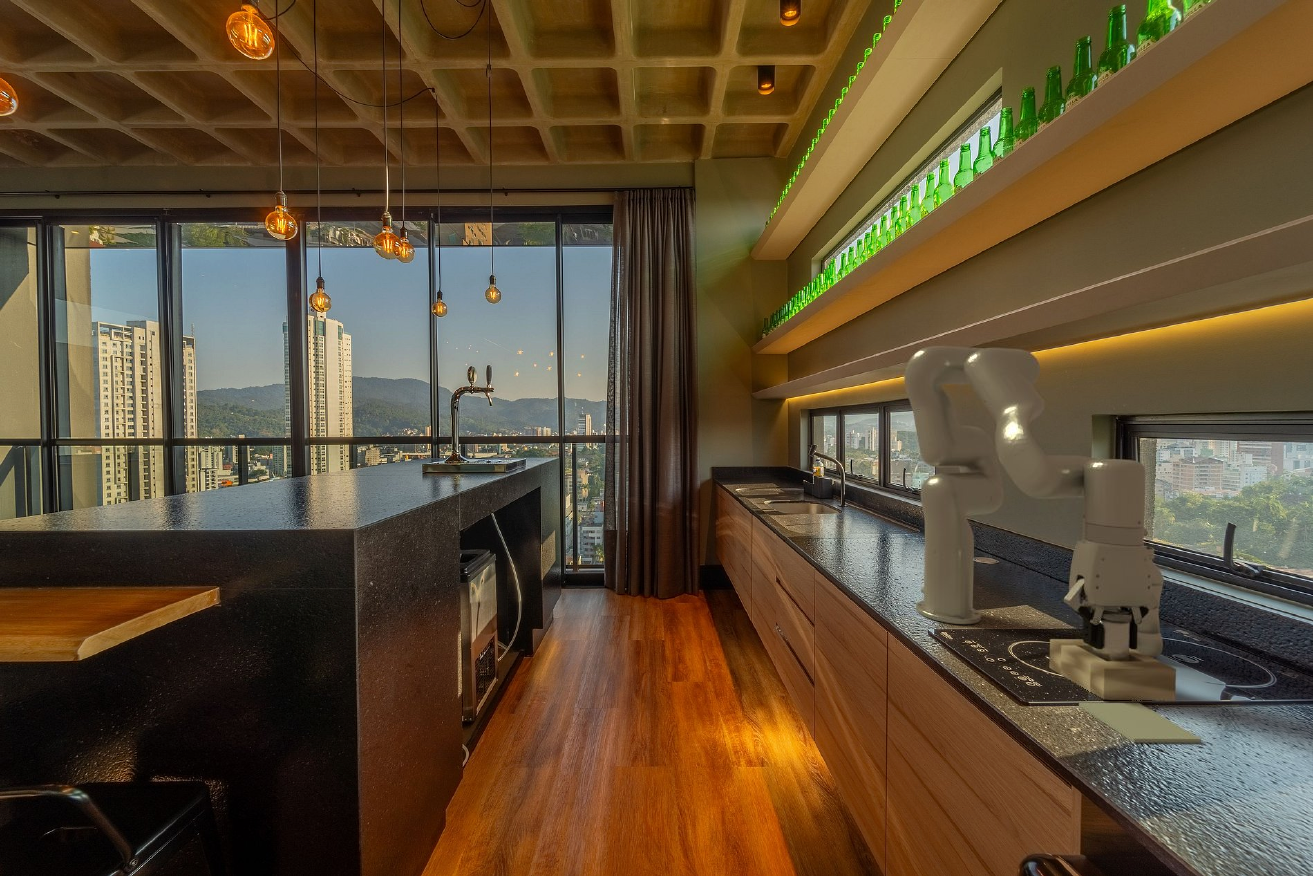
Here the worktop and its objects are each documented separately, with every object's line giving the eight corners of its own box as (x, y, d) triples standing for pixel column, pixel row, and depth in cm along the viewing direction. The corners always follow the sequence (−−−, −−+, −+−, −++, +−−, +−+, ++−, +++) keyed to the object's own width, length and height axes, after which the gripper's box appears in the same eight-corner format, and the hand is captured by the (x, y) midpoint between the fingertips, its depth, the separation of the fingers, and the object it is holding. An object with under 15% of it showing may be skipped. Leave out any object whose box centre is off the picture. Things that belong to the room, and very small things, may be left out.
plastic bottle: (1172, 664, 93) (1175, 552, 92) (1128, 660, 94) (1131, 550, 94) (1146, 648, 99) (1149, 544, 98) (1105, 645, 100) (1108, 542, 100)
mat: (1078, 706, 78) (1079, 702, 78) (1138, 706, 78) (1138, 703, 78) (1133, 742, 69) (1133, 738, 69) (1201, 742, 69) (1201, 739, 69)
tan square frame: (1049, 667, 91) (1050, 639, 91) (1112, 668, 91) (1113, 639, 91) (1103, 701, 80) (1104, 668, 80) (1175, 701, 80) (1176, 669, 80)
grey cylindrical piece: (1079, 675, 88) (1081, 605, 88) (1110, 676, 88) (1112, 605, 88) (1106, 691, 83) (1108, 616, 83) (1138, 691, 83) (1141, 616, 83)
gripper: (1142, 530, 89) (1139, 637, 89) (1043, 530, 89) (1040, 636, 89) (1187, 540, 81) (1184, 656, 82) (1078, 539, 81) (1076, 656, 82)
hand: (1109, 644), depth 85 cm, fingers closed on grey cylindrical piece, 4 cm apart
